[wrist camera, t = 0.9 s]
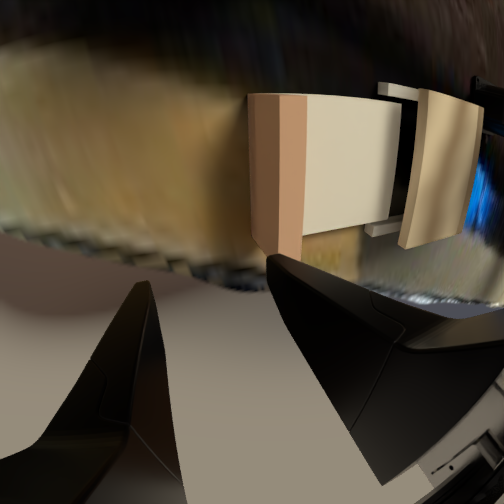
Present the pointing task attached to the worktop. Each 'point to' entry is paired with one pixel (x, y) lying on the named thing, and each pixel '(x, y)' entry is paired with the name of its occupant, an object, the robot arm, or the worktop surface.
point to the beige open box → (436, 167)
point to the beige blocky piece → (318, 165)
